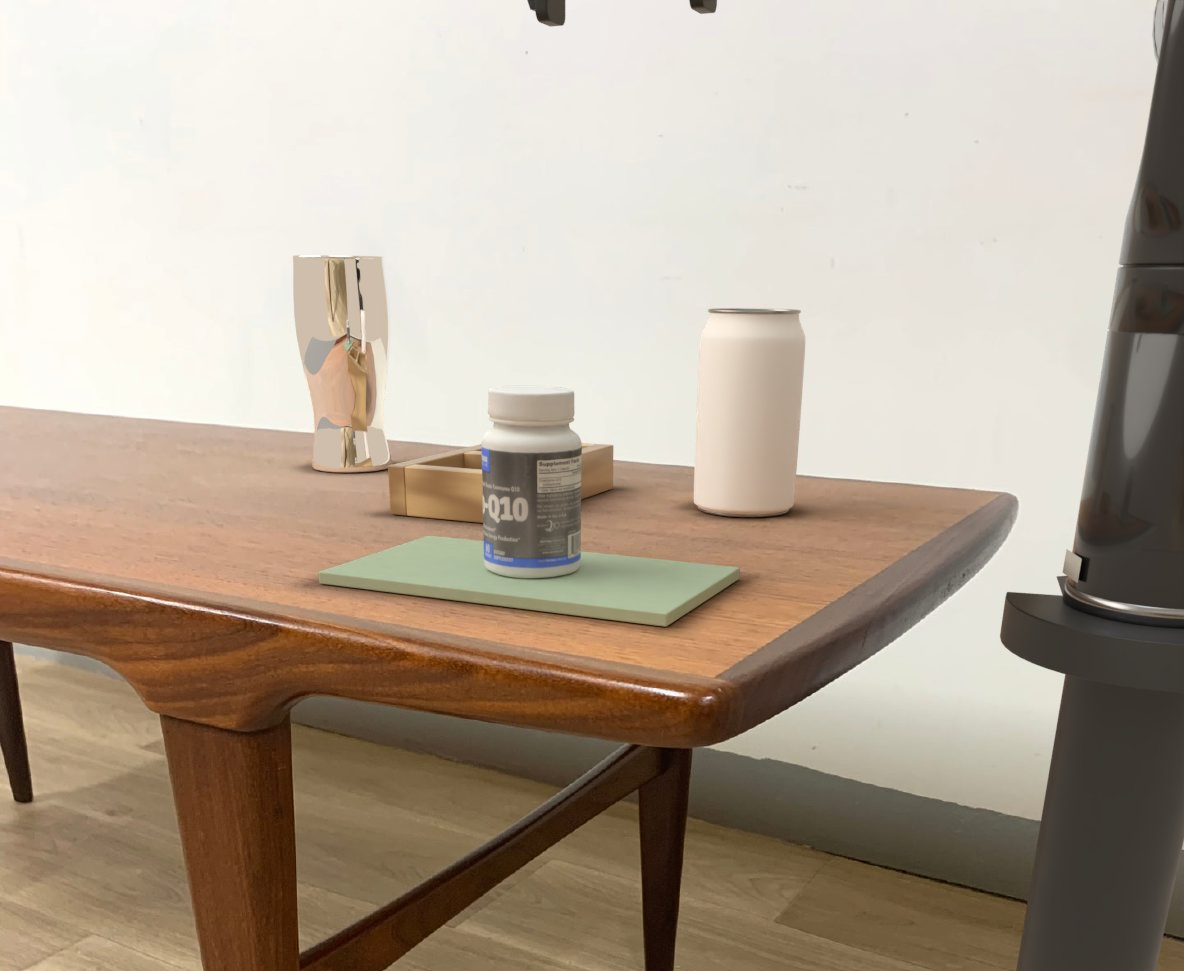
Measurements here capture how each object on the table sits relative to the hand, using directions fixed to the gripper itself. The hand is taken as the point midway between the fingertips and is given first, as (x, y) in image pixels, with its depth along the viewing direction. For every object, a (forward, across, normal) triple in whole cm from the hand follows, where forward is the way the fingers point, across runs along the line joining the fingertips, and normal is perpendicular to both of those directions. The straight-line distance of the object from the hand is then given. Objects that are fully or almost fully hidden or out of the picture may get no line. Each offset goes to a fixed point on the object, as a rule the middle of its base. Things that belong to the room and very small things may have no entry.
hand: (624, 17), depth 63 cm
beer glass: (+26, +28, -13) cm, 41 cm away
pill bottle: (+26, -2, +15) cm, 30 cm away
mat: (+26, -2, +15) cm, 30 cm away
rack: (+26, +10, -5) cm, 28 cm away
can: (+26, -5, -9) cm, 28 cm away
